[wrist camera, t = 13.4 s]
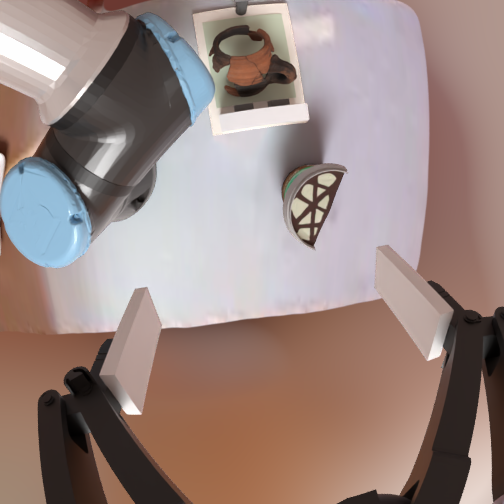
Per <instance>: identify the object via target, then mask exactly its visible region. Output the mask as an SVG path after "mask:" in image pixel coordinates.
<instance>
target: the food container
mask: <svg viewBox="0 0 504 504" xmlns="http://www.w3.org/2000/svg"><path fill="white" fill-rule="evenodd" d="M344 173H348V172H347V169H346V168H345V167H344V166H342V165H338V164H332V163H324V164H319V165H304V166H301V167H298V168H296V169H295V170H294V171H292V172H291V173H290V174H289V175H288V176H287V178H286V179H285V181H284V183H283V187H282V199H283V216H284V221H285V224H286V226H287V228H288V230H289V232H290V233H291V234H292V236H293V237H294V238H295V239H296V240H297V241H299V242H300V243H301V244H303V245H304V246H306V247H308V248H310V249H312V250H315V247H314V244H315V242H316V239H317V236H318V234H319V232H320V229H321V227H322V225H323V223H324V221H325V219H326V217H327V215H328V213H329V211H330V209H331V206H332V203H333V200H334V197H335V195H336V192H337V190H338V187H339V185H340V182H341V180H342V177H343V175H344Z"/></svg>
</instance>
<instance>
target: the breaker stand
mask: <svg viewBox="0 0 504 504" xmlns="http://www.w3.org/2000/svg"><path fill="white" fill-rule="evenodd" d="M235 10H236V7H233V8H225V9H219V10H212V11H207V12H201V13H196V14H193V21H194V27H195V33H196V39H197V45H198V51H199V57H200V59H201V60H202V61H203V63H204V64H205V66H206V67H207V69H208V71H209V72H210V74H211V76H212V78H213V80H214V83H215V93H214V97H213V99H212V101H211V103H210V104H209V105H208V110H209V115H210V121H211V127H212V132H213V136H215V135H221V134H226V133H232V132H238V131H244V130H251V129H258V128H265V127H272V126H280V125H288V124H297V123H307V120H309V113H308V106H307V103H306V104H305V101H304V95H303V88H302V82H301V76H300V69H299V64H298V58H297V52H296V47H295V41H294V36H293V31H292V26H291V21H290V16H289V11H288V7H287V3H278V4H262V5H250V6H247V11H246V14H244V15H237V14H236V12H235ZM239 25H248V26H249V27H250V28H249V30H251V31H256V32H257V30H258V29H259V28H260V29H262V30H264V31H265V32H266V33H267V34H268V35H269V36H270V40H271V43H272V45H273V47H274V52H271V53H272V55H274V54H276V55H278V57H279V58H280V59H282V60H284V61H287V62H289V63H291V64H292V65H293V66H294V67H295V69H296V74H297V78H296V80H294V81H293V82H291V83H290V84H278V83H272V84H269V85H268V86H267V87H266V88H265V89H264V90H263V91H261V92H260V93H259V94H256V95H254V96H250V97H237V96H233V95H230V94H228V93H227V91H226V90H225V88H224V87H225V85H227V86H230V87H233V88H235V86H234V83H232V82H230V81H229V80H228V78H227V74H228V71H229V67H230V65H228V66H225V67H223V68H221V69H220V71H219V73H216V72H215V71H214V69H213V68H212V66H213V63H212V57H213V55H214V54H213V55H212V56H209V53H210V50H211V48H212V46H213V41H214V39H215V37H216V36H217V35H218V34H219V33H220V32H222V31H224V30H225V29H228V28H230V27H233V26H239ZM263 46H264V40H263V39H262V41H253V40H251V38H250V37H249V36H248V35H234V36H231V37H229V38H226V39H224V40H222V41H221V43H220V45H219V48H220V50H221V51H222V52H224V53H225V54H228V55H230V56H247V55H250V54H253V53H255V52H257V51H259V50H260V49H261V48H262V47H263ZM266 74H267V73H266ZM266 74H262V75H263V77H264V78H265V76H266ZM288 98H289V102H290V104H289V105H284V106H275V107H268V103H267V102H268V101H270V100H279V99H288ZM247 103H253V106H254V109H252V110H245V111H239V112H234V107H233V106H234V105H241V104H247Z"/></svg>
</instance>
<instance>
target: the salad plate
mask: <svg viewBox="0 0 504 504" xmlns="http://www.w3.org/2000/svg"><path fill="white" fill-rule="evenodd" d="M4 170H5V156H4V155H3V154H2V153H0V191H1V187H2V183H3V176H4ZM0 214H1V212H0ZM0 254H1V229H0Z"/></svg>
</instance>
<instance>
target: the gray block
mask: <svg viewBox="0 0 504 504" xmlns="http://www.w3.org/2000/svg"><path fill="white" fill-rule="evenodd" d="M248 1H251V0H234V2H236V10H235V12H236V14H237V15H244V14H246V11H247V6H248Z"/></svg>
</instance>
